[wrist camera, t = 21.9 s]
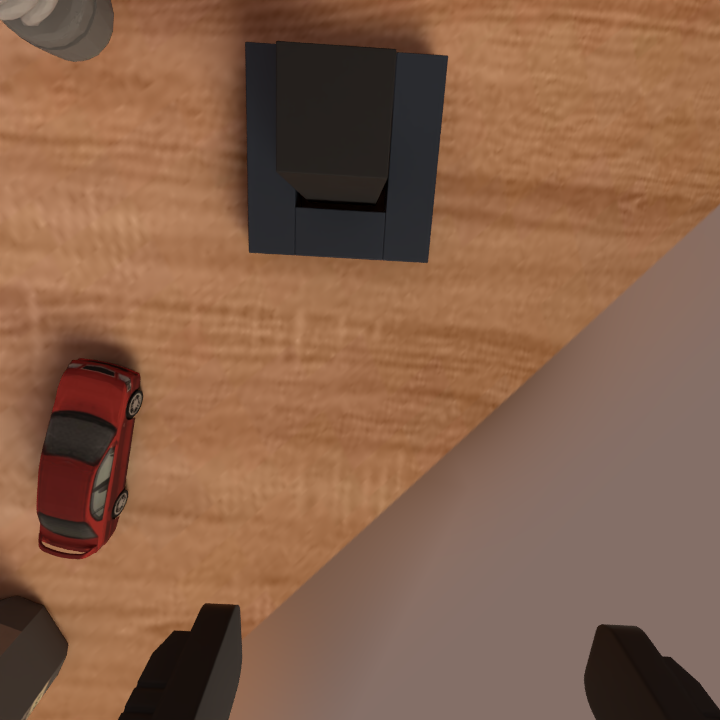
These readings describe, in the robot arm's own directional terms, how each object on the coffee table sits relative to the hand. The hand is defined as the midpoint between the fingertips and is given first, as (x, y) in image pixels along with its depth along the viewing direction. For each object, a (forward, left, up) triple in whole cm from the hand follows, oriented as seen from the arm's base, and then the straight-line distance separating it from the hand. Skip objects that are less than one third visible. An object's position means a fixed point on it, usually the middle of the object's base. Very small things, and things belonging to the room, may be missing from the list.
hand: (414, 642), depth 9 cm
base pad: (+9, -10, -23) cm, 27 cm away
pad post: (+9, -10, -23) cm, 27 cm away
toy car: (+14, +18, -23) cm, 33 cm away
